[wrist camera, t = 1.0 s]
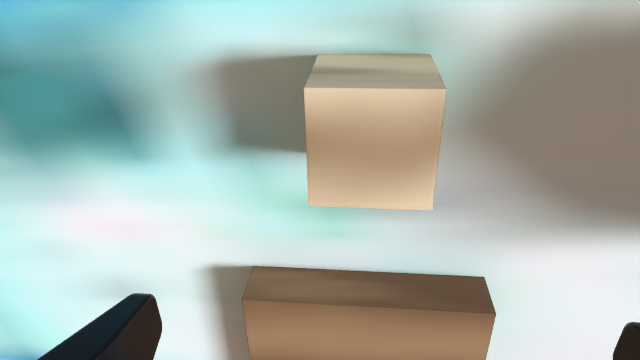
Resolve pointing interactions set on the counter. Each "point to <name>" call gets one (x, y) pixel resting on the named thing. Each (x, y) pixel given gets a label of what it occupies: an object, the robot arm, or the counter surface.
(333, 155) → the maple cube
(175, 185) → the counter surface
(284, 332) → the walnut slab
